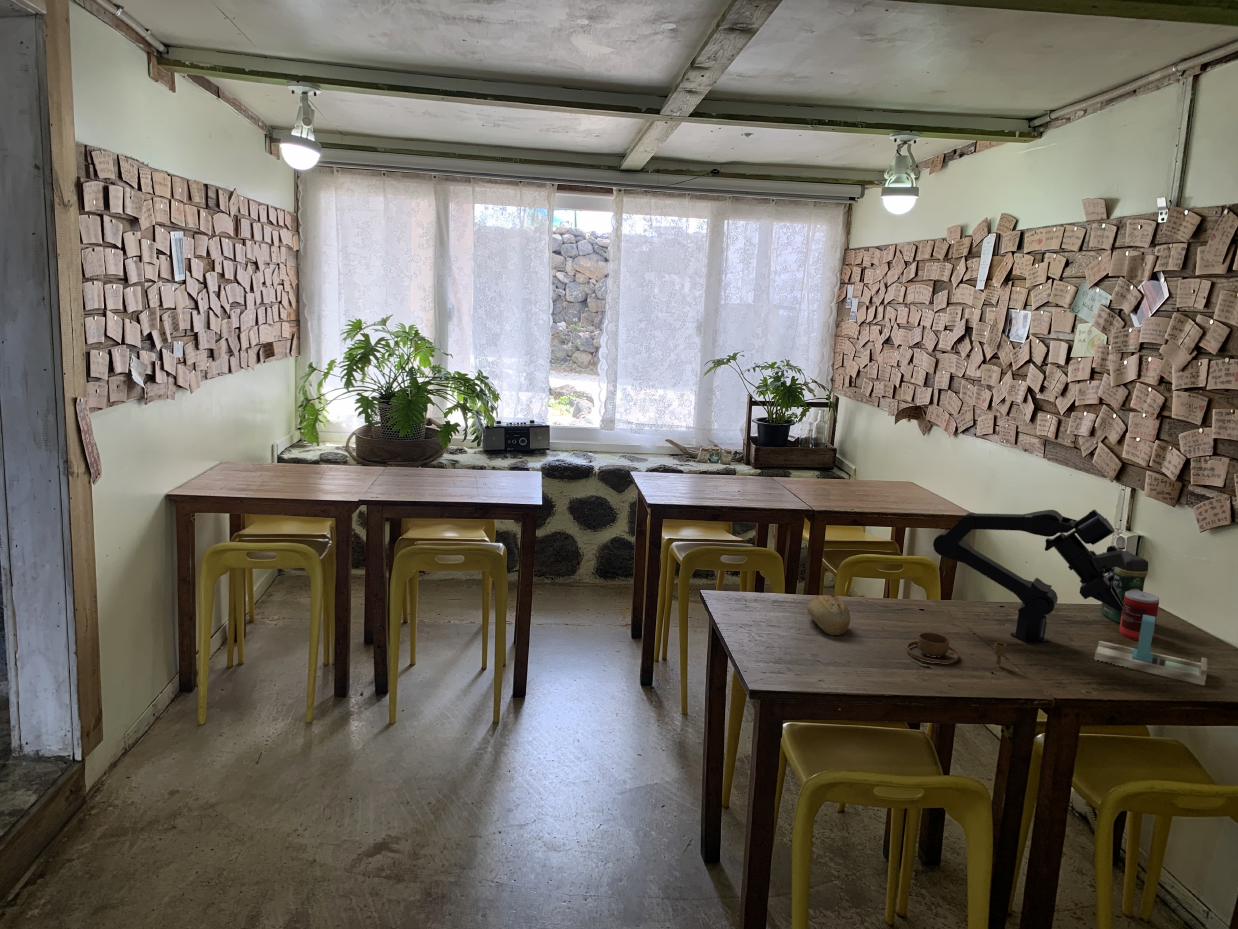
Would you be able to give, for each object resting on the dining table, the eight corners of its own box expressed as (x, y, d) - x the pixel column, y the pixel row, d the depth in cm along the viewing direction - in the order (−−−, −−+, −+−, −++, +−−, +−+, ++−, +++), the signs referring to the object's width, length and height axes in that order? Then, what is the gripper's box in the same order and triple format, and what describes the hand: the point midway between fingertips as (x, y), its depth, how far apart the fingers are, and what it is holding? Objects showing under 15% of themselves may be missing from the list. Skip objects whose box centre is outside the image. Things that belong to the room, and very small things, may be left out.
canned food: (1148, 632, 223) (1155, 592, 221) (1156, 643, 216) (1163, 602, 214) (1115, 628, 226) (1121, 588, 223) (1122, 638, 218) (1129, 598, 216)
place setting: (928, 640, 213) (931, 618, 212) (1007, 668, 198) (1010, 644, 197) (890, 657, 202) (892, 633, 201) (970, 687, 187) (973, 662, 186)
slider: (1131, 660, 200) (1138, 620, 199) (1133, 652, 205) (1139, 613, 203) (1151, 664, 198) (1158, 624, 196) (1152, 656, 203) (1159, 617, 201)
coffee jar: (1094, 612, 237) (1104, 548, 234) (1122, 612, 238) (1132, 548, 234) (1116, 624, 228) (1126, 558, 224) (1144, 625, 228) (1155, 559, 225)
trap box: (1094, 659, 204) (1096, 646, 203) (1098, 648, 211) (1100, 635, 210) (1204, 685, 192) (1207, 671, 191) (1204, 672, 199) (1207, 658, 198)
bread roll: (832, 615, 227) (834, 587, 225) (858, 637, 212) (861, 607, 211) (798, 616, 225) (800, 588, 223) (822, 638, 210) (825, 608, 209)
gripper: (1103, 545, 195) (1151, 601, 191) (1110, 529, 210) (1155, 581, 206) (1060, 570, 201) (1106, 626, 197) (1070, 553, 216) (1113, 604, 212)
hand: (1121, 608), depth 203 cm, fingers open, 3 cm apart
